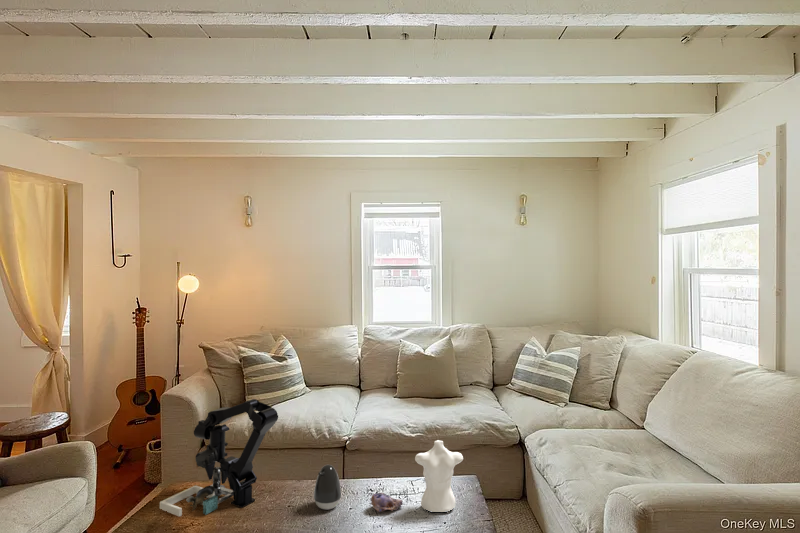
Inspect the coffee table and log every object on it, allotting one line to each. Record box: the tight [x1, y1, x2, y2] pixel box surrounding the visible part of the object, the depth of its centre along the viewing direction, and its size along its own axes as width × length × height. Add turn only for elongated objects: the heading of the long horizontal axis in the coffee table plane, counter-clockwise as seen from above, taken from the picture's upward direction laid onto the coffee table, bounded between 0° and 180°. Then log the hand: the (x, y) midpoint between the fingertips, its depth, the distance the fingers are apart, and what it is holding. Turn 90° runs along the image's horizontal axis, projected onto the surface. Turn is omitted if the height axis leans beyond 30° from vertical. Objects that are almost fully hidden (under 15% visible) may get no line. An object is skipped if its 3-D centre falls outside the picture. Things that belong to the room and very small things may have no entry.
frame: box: [159, 484, 215, 517], centre depth 165 cm, size 11×15×2 cm
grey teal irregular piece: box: [202, 466, 234, 515], centre depth 166 cm, size 13×14×10 cm
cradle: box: [214, 484, 226, 497], centre depth 172 cm, size 2×5×3 cm, turn 152°
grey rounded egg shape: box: [313, 464, 342, 511], centre depth 164 cm, size 10×10×15 cm
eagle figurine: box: [185, 485, 215, 512], centre depth 164 cm, size 8×7×9 cm
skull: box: [370, 492, 404, 512], centre depth 162 cm, size 12×8×6 cm, turn 96°
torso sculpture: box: [414, 439, 464, 512], centre depth 164 cm, size 18×10×25 cm, turn 95°
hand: (216, 481), depth 173 cm, fingers open, 7 cm apart
